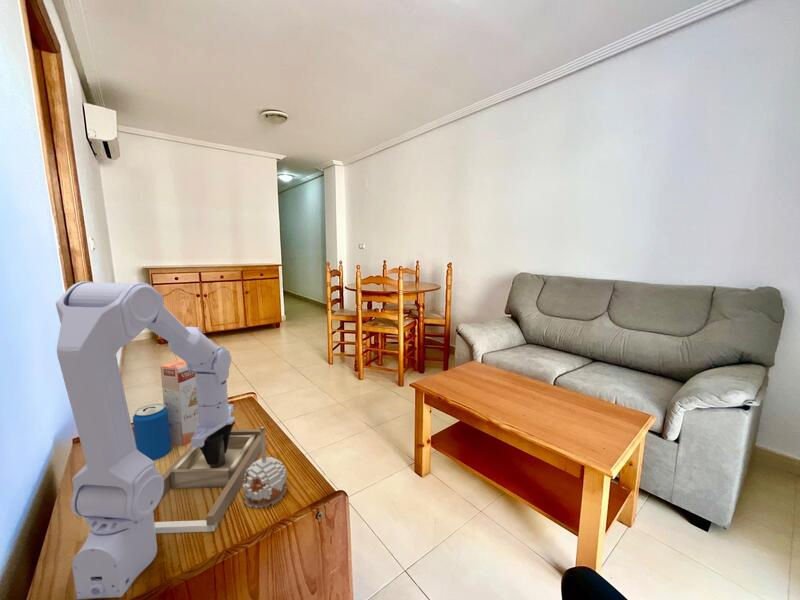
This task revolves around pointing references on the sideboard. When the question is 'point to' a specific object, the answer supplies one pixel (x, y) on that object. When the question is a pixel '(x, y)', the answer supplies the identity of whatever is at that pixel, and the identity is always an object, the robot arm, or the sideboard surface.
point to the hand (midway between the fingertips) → (217, 458)
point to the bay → (223, 499)
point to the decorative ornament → (264, 480)
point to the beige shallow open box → (200, 474)
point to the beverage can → (152, 431)
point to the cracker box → (180, 401)
